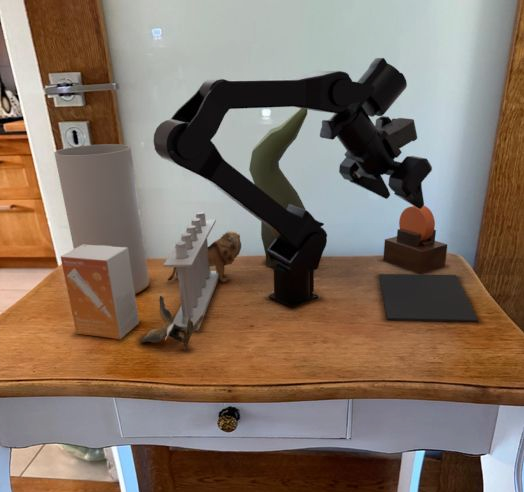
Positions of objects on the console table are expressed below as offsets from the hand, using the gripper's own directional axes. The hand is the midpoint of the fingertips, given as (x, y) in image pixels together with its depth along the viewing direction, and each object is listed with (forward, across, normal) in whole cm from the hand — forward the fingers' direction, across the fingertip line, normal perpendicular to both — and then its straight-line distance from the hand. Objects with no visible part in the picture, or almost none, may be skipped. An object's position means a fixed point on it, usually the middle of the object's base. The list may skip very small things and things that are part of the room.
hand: (404, 201), depth 100 cm
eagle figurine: (-21, -5, +45) cm, 50 cm away
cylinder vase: (-22, +22, +46) cm, 56 cm away
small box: (-26, +5, +50) cm, 57 cm away
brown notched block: (+14, +3, +4) cm, 15 cm away
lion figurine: (-11, +17, +34) cm, 39 cm away
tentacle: (0, +18, +21) cm, 28 cm away
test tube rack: (-15, +8, +38) cm, 41 cm away
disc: (+11, +3, +1) cm, 12 cm away
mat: (+8, -11, +12) cm, 18 cm away
